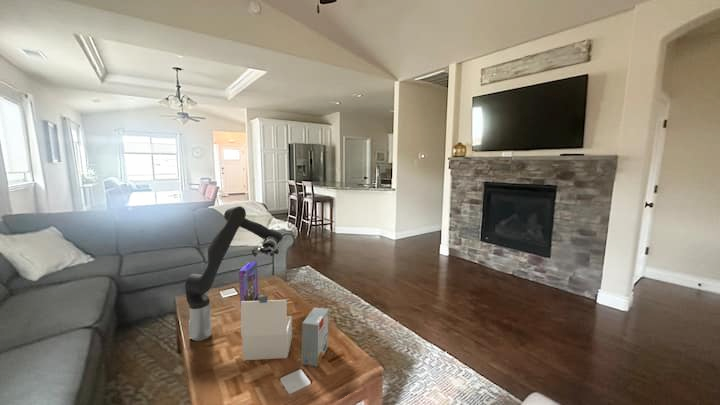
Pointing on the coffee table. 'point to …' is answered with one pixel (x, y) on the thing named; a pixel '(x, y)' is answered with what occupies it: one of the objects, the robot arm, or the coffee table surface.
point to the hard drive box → (314, 336)
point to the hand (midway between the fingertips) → (262, 254)
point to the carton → (267, 345)
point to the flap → (263, 317)
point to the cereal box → (248, 282)
